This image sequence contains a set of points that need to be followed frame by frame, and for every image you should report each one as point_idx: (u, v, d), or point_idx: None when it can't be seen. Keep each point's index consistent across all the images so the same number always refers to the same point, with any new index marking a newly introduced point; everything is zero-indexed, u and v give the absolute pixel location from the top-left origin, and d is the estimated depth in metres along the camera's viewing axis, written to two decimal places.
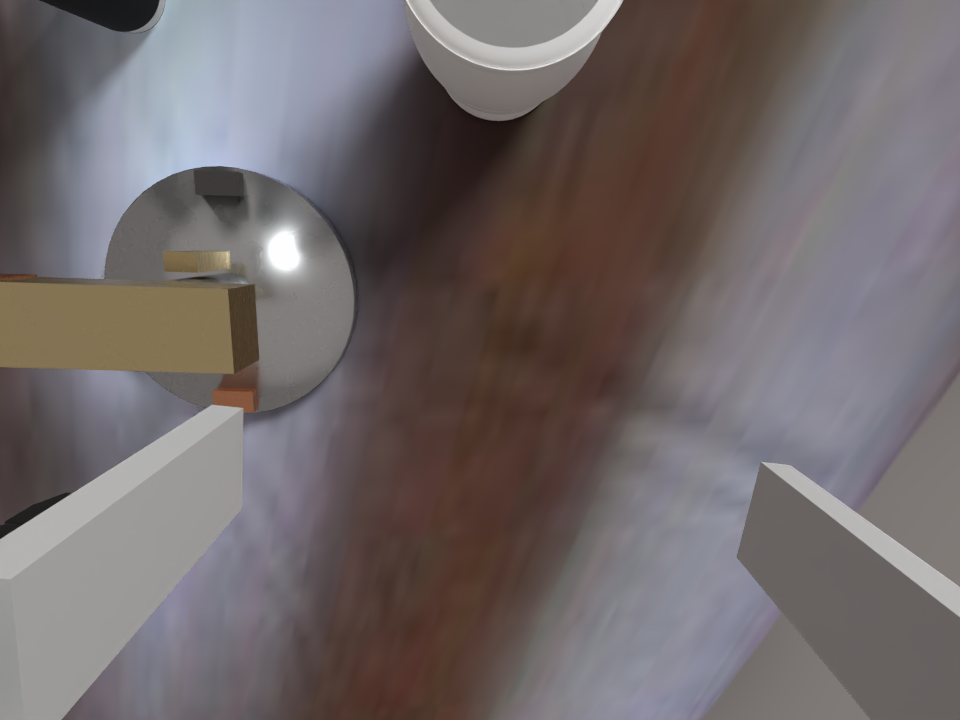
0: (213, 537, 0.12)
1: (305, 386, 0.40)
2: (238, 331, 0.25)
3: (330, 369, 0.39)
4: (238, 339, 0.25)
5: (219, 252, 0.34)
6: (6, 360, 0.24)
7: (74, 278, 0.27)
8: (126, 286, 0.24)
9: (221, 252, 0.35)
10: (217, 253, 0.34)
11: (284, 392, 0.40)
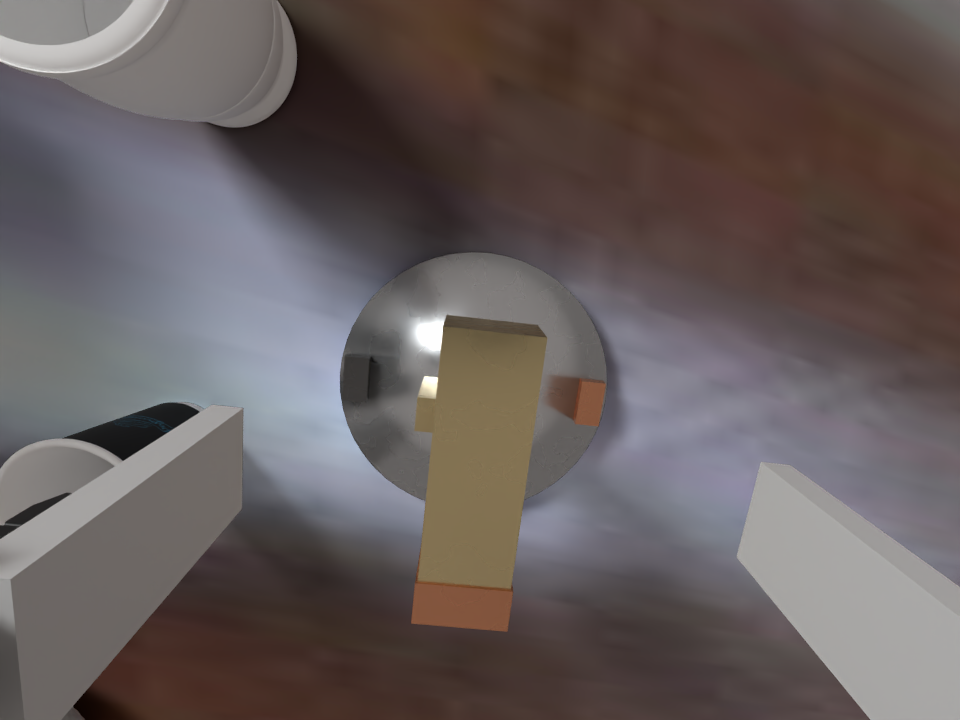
0: (213, 537, 0.12)
1: (584, 323, 0.34)
2: (496, 329, 0.21)
3: (567, 291, 0.34)
4: (506, 330, 0.20)
5: (423, 382, 0.32)
6: (504, 579, 0.22)
7: None
8: (432, 440, 0.21)
9: (423, 381, 0.32)
10: (423, 383, 0.31)
11: (587, 348, 0.35)
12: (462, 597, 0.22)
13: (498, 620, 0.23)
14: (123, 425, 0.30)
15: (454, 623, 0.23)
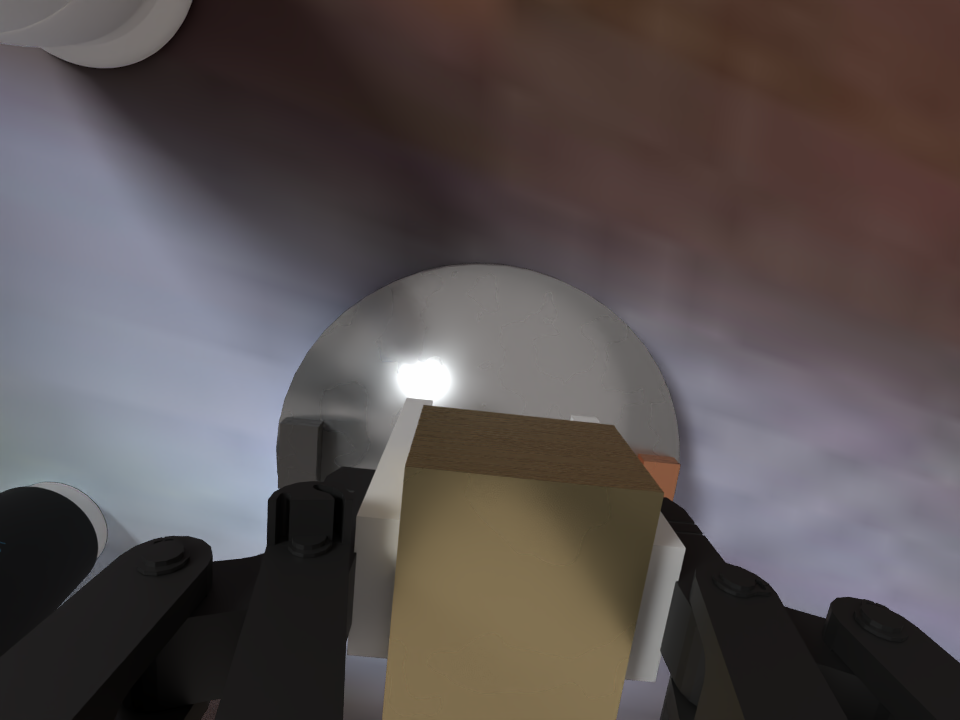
0: None
1: (647, 373, 0.22)
2: (534, 460, 0.09)
3: (623, 325, 0.22)
4: (559, 464, 0.09)
5: None
6: None
7: None
8: (384, 712, 0.09)
9: None
10: None
11: (652, 409, 0.23)
12: None
13: None
14: None
15: None
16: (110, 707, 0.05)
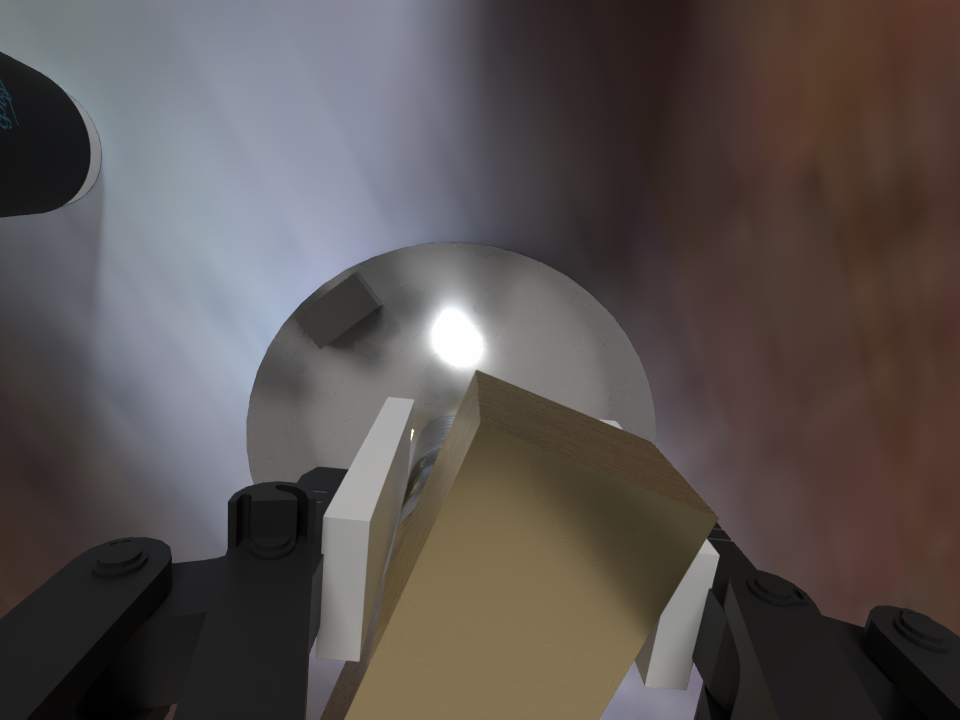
0: (400, 508, 0.14)
1: None
2: (595, 452, 0.09)
3: None
4: (619, 463, 0.08)
5: None
6: None
7: (322, 714, 0.12)
8: (369, 666, 0.09)
9: None
10: None
11: None
12: None
13: None
14: None
15: None
16: (63, 712, 0.05)
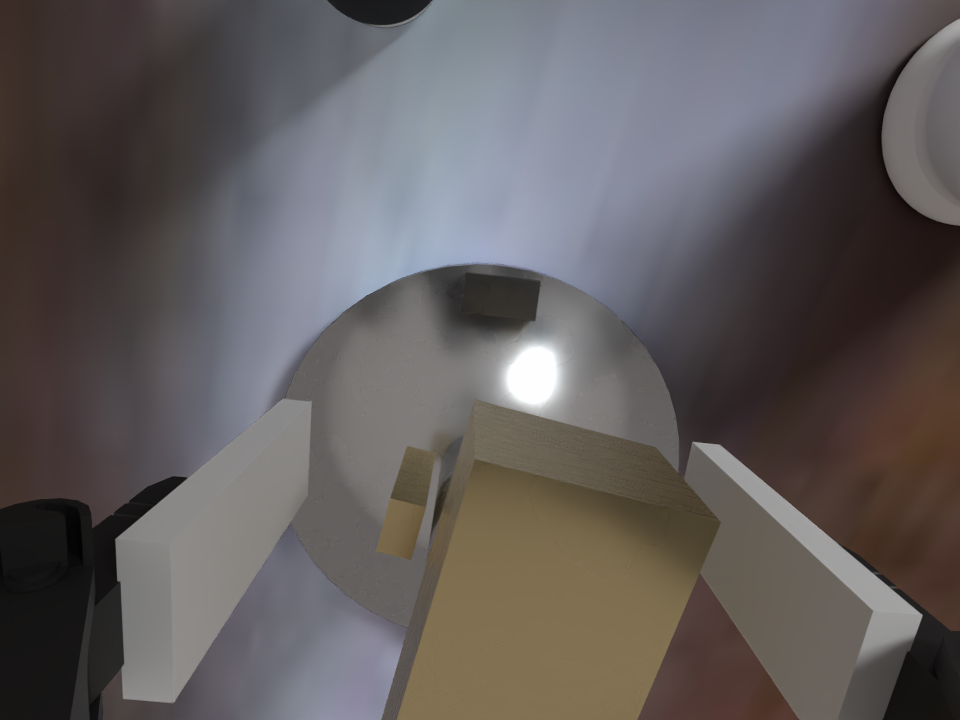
0: (288, 520, 0.13)
1: None
2: (593, 471, 0.09)
3: None
4: (618, 479, 0.09)
5: (403, 460, 0.20)
6: None
7: None
8: (403, 700, 0.09)
9: (404, 457, 0.20)
10: (404, 464, 0.19)
11: None
12: None
13: None
14: None
15: None
16: None
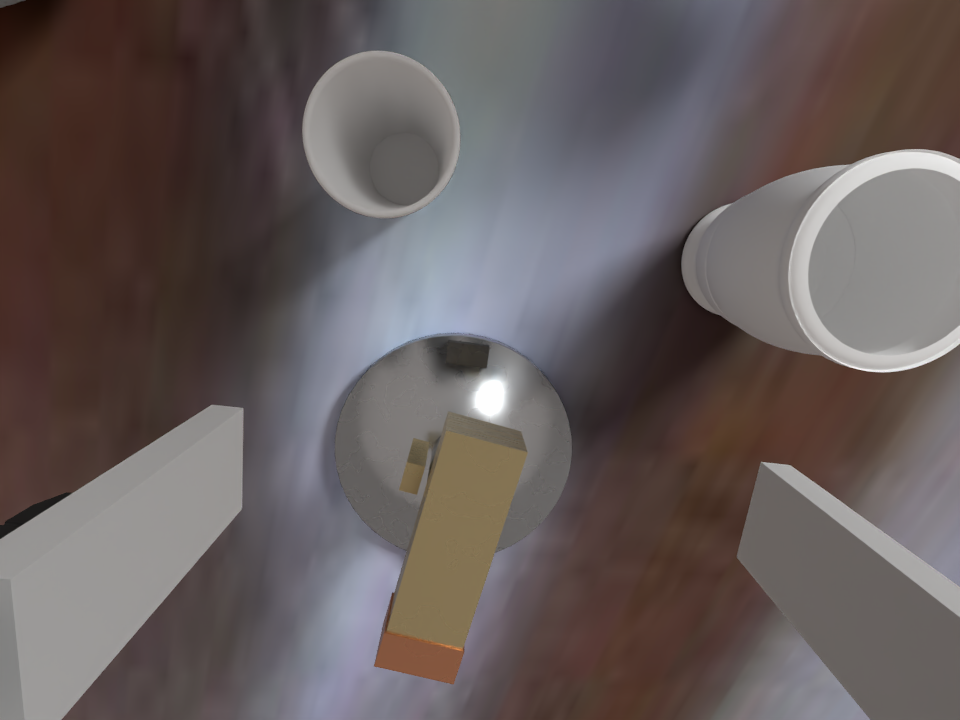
0: (213, 537, 0.12)
1: (509, 539, 0.41)
2: (488, 436, 0.25)
3: (535, 526, 0.41)
4: (496, 439, 0.25)
5: (412, 445, 0.36)
6: (459, 640, 0.27)
7: (403, 563, 0.29)
8: (420, 518, 0.25)
9: (412, 444, 0.36)
10: (412, 446, 0.36)
11: None
12: (421, 650, 0.26)
13: (447, 673, 0.27)
14: None
15: (410, 671, 0.27)
16: None
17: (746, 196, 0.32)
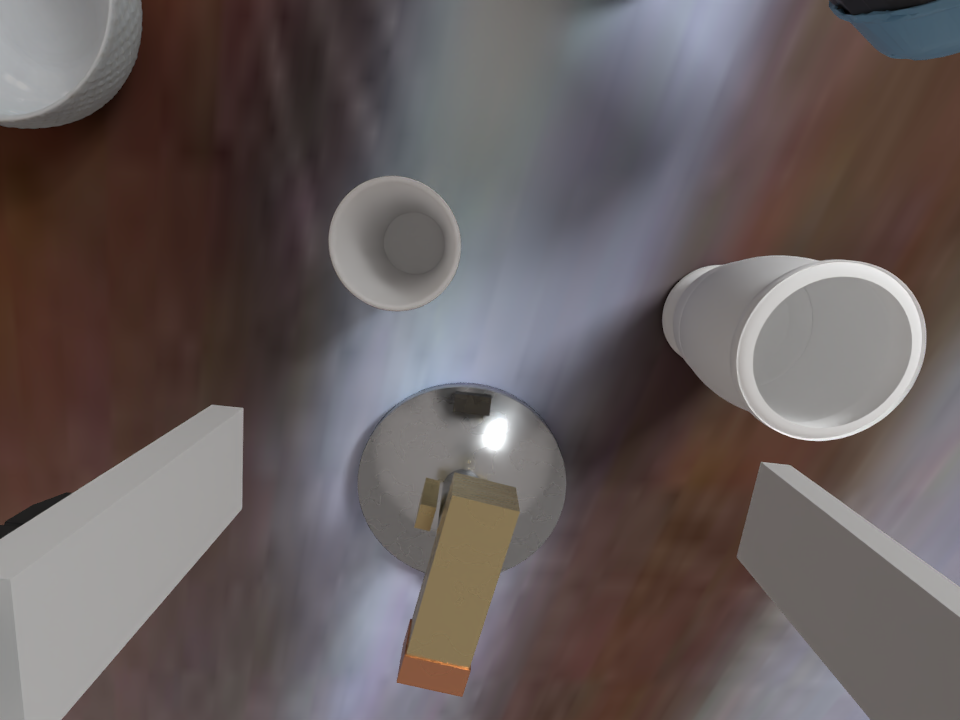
0: (213, 537, 0.12)
1: (511, 561, 0.47)
2: (487, 497, 0.30)
3: (535, 549, 0.46)
4: (494, 499, 0.30)
5: (425, 485, 0.41)
6: (466, 661, 0.32)
7: None
8: (432, 564, 0.31)
9: (425, 484, 0.42)
10: (425, 487, 0.41)
11: None
12: (434, 669, 0.32)
13: (457, 688, 0.32)
14: None
15: (426, 686, 0.32)
16: None
17: (713, 273, 0.36)
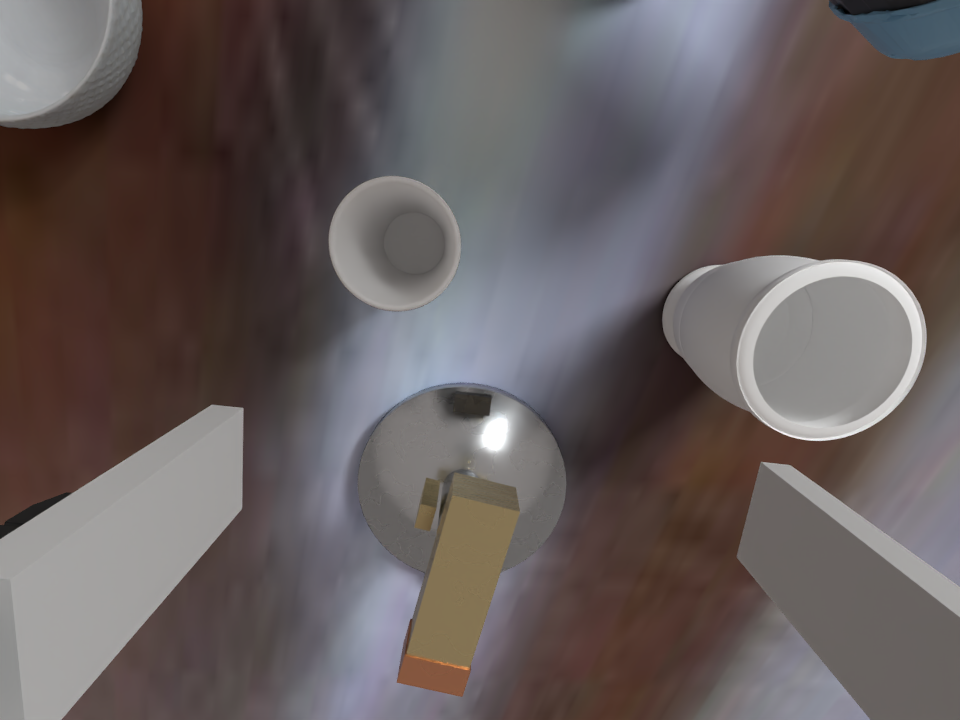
0: (213, 537, 0.12)
1: (512, 561, 0.47)
2: (487, 497, 0.30)
3: (535, 549, 0.46)
4: (494, 499, 0.30)
5: (425, 485, 0.41)
6: (466, 661, 0.32)
7: (419, 595, 0.34)
8: (432, 564, 0.31)
9: (425, 484, 0.42)
10: (425, 487, 0.41)
11: None
12: (435, 669, 0.32)
13: (457, 688, 0.32)
14: None
15: (426, 686, 0.32)
16: None
17: (713, 273, 0.36)
